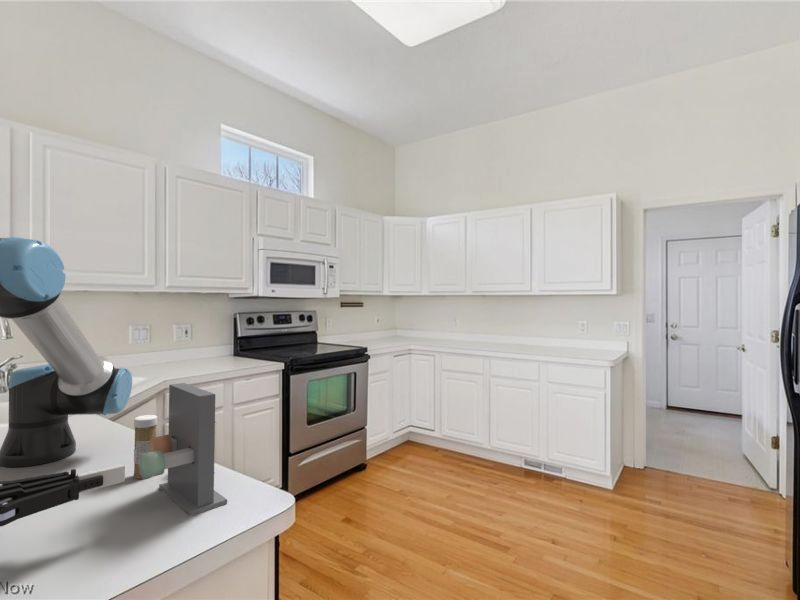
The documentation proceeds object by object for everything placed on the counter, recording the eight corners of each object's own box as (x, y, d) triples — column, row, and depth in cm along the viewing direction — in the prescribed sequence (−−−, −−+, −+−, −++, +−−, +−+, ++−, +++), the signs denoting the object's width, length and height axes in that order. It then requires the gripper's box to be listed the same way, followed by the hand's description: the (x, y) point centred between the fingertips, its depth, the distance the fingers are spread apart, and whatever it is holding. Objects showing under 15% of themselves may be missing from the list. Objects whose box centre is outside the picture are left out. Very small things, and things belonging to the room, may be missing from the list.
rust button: (148, 456, 89) (149, 435, 89) (205, 443, 97) (206, 424, 97) (156, 462, 86) (156, 440, 86) (214, 448, 94) (214, 428, 94)
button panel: (159, 488, 92) (160, 385, 92) (193, 478, 97) (194, 381, 97) (190, 515, 80) (192, 398, 80) (227, 503, 85) (229, 392, 86)
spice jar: (139, 471, 100) (140, 414, 101) (159, 471, 101) (160, 414, 101) (129, 479, 96) (130, 419, 96) (150, 479, 96) (151, 419, 96)
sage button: (138, 475, 79) (139, 451, 79) (202, 459, 88) (202, 437, 88) (146, 482, 76) (146, 457, 76) (211, 464, 85) (212, 442, 85)
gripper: (-77, 530, 63) (113, 482, 80) (-80, 569, 54) (134, 506, 71) (-75, 479, 63) (114, 442, 80) (-79, 509, 54) (135, 460, 71)
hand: (123, 472), depth 75 cm, fingers closed
